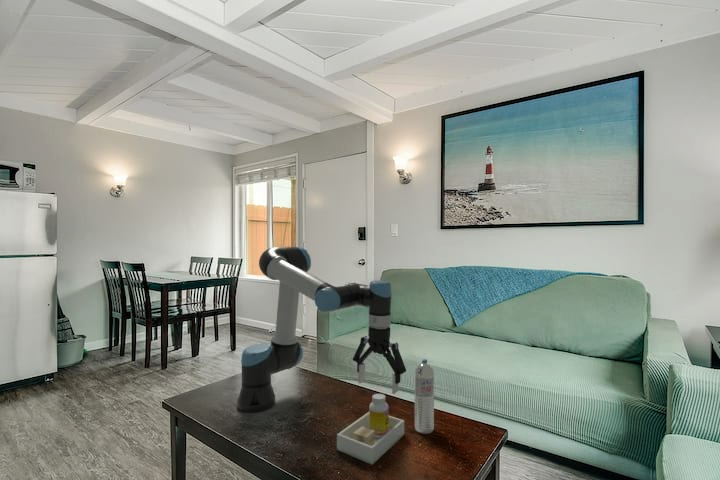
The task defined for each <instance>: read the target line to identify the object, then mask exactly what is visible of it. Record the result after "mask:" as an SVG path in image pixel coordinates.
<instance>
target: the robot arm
mask: <svg viewBox="0 0 720 480" xmlns="http://www.w3.org/2000/svg"><path fill="white" fill-rule="evenodd" d="M311 266H312V260H311V256H310V254H309V253H308V250H306V249H305V248H304V247H302V246H301V247H300V246H279V247H278V246H275V247H269V248H267V249H266V250H264V251H263V252H262V253H261V255H260V257H259V260H258V267H259V270H260V271H261V273H262V274H263V275H264V276H265V277H267V278H268V279H271V280H272V281H279V285H278V286H279V287H278V300H277V308H276V309H277V311H276V323H275V324H276V325H275V332H274V333H275V334H274V335H273V336H272V337H271V338H270V339H271V340H270V344H269V343H264V342H261V343H260V342H259V343H256V344H253V345H252V344H251V345H250V346H247V347H245V348H244V349H243V350H242V353H241V361H240V363H241V388H240V391H239V395H238V397H237V401H236V407H237V409H238V410H240V411H242V412H244V413H258V412H262V411H266V410H269V409H271V408H272V407H274V406H275V404H276V395H275V391H274V388H273V386H272V375H274V374H277V373H280V372H282V371H285V370H290V369H292V368H294V367H296V366H298V365H300V362H301V361H302V359H303V355H304V354H303V353H304V352H303V351H304V350H303V347H302V346H303V345H302V343H301V342H300V341H299V337H297V336H296V331H297V319H298V318H297V317H298V311H299V310H298V308H299V297H300V293H301V294H302V295H304V296H305V297H307V298H309V299H310V300H312V301H314V304H315V306H316V308H317V309H318V310H319V311H320V312H325V313H326V312H334V311H338V310H342V309H345V308H346V309H347V308H351V307H355V306H361V307H364V308H365V307H366V308H368V332H367V335H365V336H363V337H360V341H359V342H360V343H359V345H358V347H357V349H356V351H355V352H354V355H353V357H352V362H356V364H357V365H356V366H357V368H356V369H357V370H356V371H357V373H358V384H362V383H363V382H365V381H366V379H365V376H366V375H365V374H366V373H365V372H366V363H365V360H367V358H368V357H369V356H370V355H371V354H372V352H373V353H375V354H378V355H382V356H383V357H384V358H385V359H386V361H387V363H388V364H389V366H390V368H391V369H392V371H393V373H392V384H391V385H392V386H391V389H392V390H391V394H393V395H395V394H397V393H398V392H399V384H400V383H401V375H403V374H404V373H406V372H407V369H406V366H405V363H404V360H403V358H402V355H401V352H400V349H399V343H398V342H394V343H393V342H390V341H391V340H390V338H391V327H390V326H391V322H392V321H391V318H392V317H391V313H392V312H391V310H392V309H391V308H392V307H391V305H392V295H393V294H392V284H391V283H390V282H389V281H386V280H371V281H370V282H369V285H367V284H363V283H357V282H347V283H345V284H344V285H340V286H334V285H332V284H330V283H328V282H326V281H324V280H322V279H320V278H319V277H317V276H314V275H313V274H311V273H308V272H309V270H310V269H311ZM367 344H368V345H369V346H368V347H367V349H366V351H365V352H364V350H365V348H366V345H367ZM363 352H364V353H363ZM362 353H363V354H362Z"/></svg>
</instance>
